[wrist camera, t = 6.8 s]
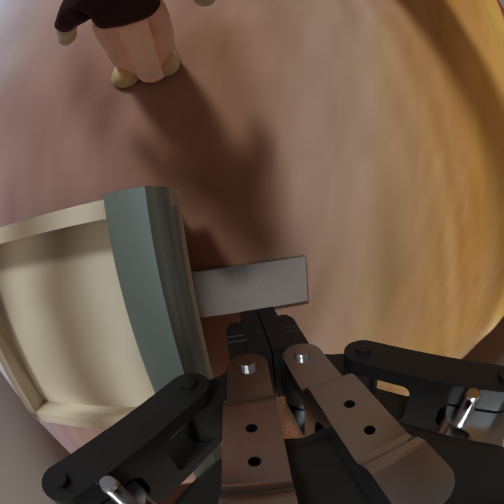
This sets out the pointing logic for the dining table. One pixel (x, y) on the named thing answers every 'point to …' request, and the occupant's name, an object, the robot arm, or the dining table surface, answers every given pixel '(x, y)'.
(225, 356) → the dining table surface
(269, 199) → the dining table surface
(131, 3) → the grandmother figurine
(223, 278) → the strip
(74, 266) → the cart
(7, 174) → the dining table surface
